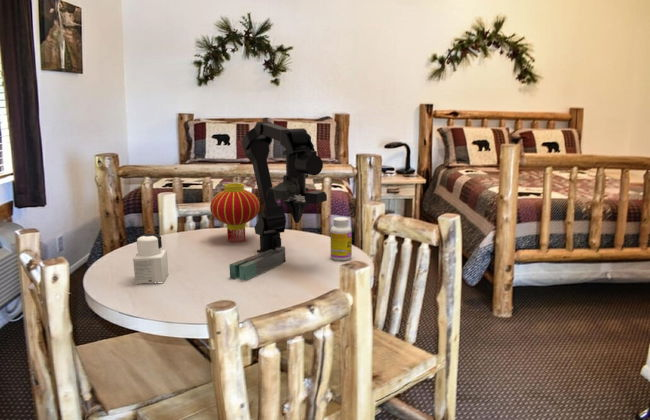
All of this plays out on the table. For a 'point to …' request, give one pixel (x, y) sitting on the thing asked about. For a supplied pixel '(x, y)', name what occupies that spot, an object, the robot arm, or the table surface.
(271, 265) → the bar
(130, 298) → the table surface
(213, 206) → the lantern
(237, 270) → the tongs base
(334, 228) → the supplement bottle
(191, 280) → the table surface
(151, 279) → the container
